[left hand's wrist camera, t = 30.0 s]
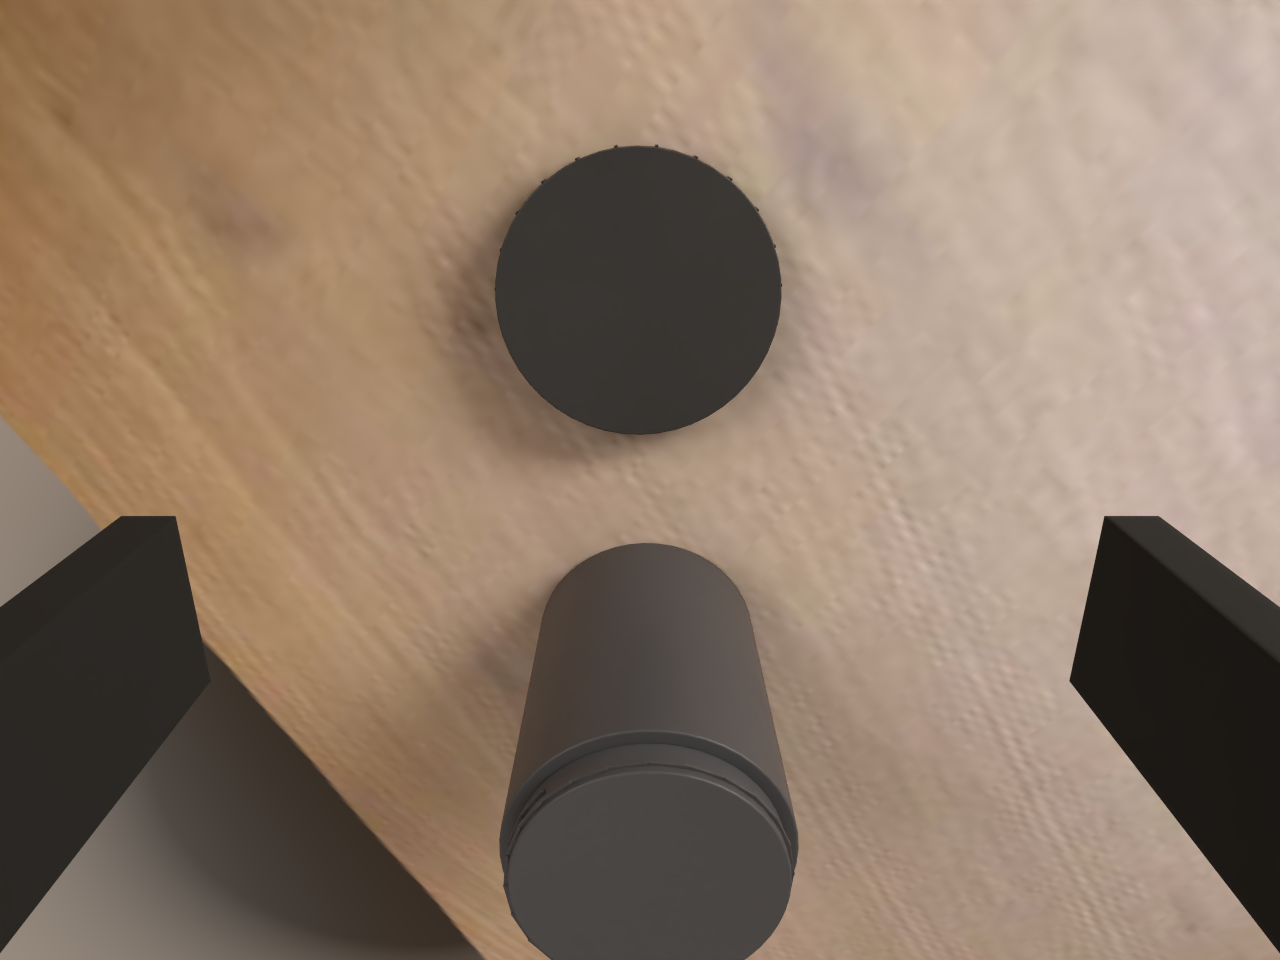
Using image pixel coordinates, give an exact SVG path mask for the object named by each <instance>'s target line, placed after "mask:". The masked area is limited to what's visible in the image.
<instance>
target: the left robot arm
mask: <svg viewBox="0 0 1280 960" xmlns="http://www.w3.org/2000/svg"><path fill="white" fill-rule="evenodd" d="M209 682H210V676H209V672H208V667H207V662H206V657H205V653H204V648H203V643H202V639H201V634H200V629H199V624H198V620H197V615H196V610H195V606H194V601H193V596H192V592H191V587H190V582H189V578H188V573H187V568H186V563H185V559H184V554H183V549H182V545H181V540H180V535H179V531H178V526H177V521H176V516H121V517H119V518H118V519H117V520H115V521H114V522H113V523H111V524H110V525H109V526H108V527H106V528H105V529H104V530H102V531H101V532H100V533H98V534H97V535H96V536H94V537H93V538H92V539H90V540H89V541H88V542H86V543H85V544H84V545H82V546H81V547H80V548H78V549H77V550H76V551H74V552H73V553H72V554H70V555H69V556H68V557H66V558H65V559H64V560H62V561H61V562H60V563H58V564H57V565H56V566H54V567H53V568H52V569H50V570H49V571H48V572H47V573H45V574H44V575H43V576H41V577H40V578H38V579H37V580H36V581H35V582H33V583H32V584H31V585H29V586H28V587H27V588H25V589H24V590H23V591H21V592H20V593H19V594H17V595H16V596H15V597H13V598H12V599H11V600H9V601H8V602H7V603H5V604H4V605H3V606H1V607H0V953H1V951H2V950H3V949H4V947H5V946H6V945H7V944H8V942H9V941H10V940H11V938H12V937H13V936H14V935H15V933H16V932H17V931H18V929H19V928H20V927H21V926H22V924H23V923H24V922H25V920H26V919H27V918H28V916H29V915H30V914H31V913H32V911H33V910H34V909H35V907H36V906H37V905H38V904H39V902H40V901H41V900H42V898H43V897H44V896H45V894H46V893H47V892H48V891H49V889H50V888H51V887H52V885H53V884H54V883H55V882H56V880H57V879H58V878H59V876H60V875H61V874H62V872H63V871H64V870H65V869H66V867H67V866H68V865H69V863H70V862H71V861H72V860H73V858H74V857H75V856H76V854H77V853H78V852H79V850H80V849H81V848H82V847H83V845H84V844H85V843H86V841H87V840H88V839H89V838H90V836H91V835H92V834H93V832H94V831H95V830H96V828H97V827H98V826H99V825H100V823H101V822H102V821H103V819H104V818H105V817H106V816H107V814H108V813H109V812H110V810H111V809H112V808H113V806H114V805H115V804H116V803H117V801H118V800H119V799H120V797H121V796H122V795H123V794H124V792H125V791H126V790H127V788H128V787H129V786H130V785H131V783H132V782H133V781H134V779H135V778H136V777H137V775H138V774H139V773H140V772H141V770H142V769H143V768H144V766H145V765H146V764H147V763H148V761H149V760H150V759H151V757H152V756H153V755H154V753H155V752H156V751H157V750H158V748H159V747H160V746H161V744H162V743H163V742H164V741H165V739H166V738H167V737H168V735H169V734H170V733H171V731H172V730H173V729H174V728H175V726H176V725H177V724H178V722H179V721H180V720H181V718H182V717H183V716H184V715H185V713H186V712H187V711H188V709H189V708H190V707H191V706H192V704H193V703H194V702H195V700H196V699H197V698H198V697H199V695H200V694H201V693H202V691H203V690H204V689H205V687H206V686H207V685H208V684H209ZM1070 682H1071V684H1072V685H1073V686H1074V687H1075V689H1076V690H1077V691H1078V693H1079V694H1080V695H1081V697H1082V698H1083V699H1084V700H1085V702H1086V703H1087V704H1088V706H1089V707H1090V708H1091V709H1092V711H1093V712H1094V713H1095V715H1096V716H1097V717H1098V719H1099V720H1100V721H1101V722H1102V724H1103V725H1104V726H1105V728H1106V729H1107V730H1108V731H1109V733H1110V734H1111V735H1112V737H1113V738H1114V739H1115V741H1116V742H1117V743H1118V744H1119V746H1120V747H1121V748H1122V750H1123V751H1124V752H1125V753H1126V755H1127V756H1128V757H1129V759H1130V760H1131V761H1132V763H1133V764H1134V765H1135V766H1136V768H1137V769H1138V770H1139V772H1140V773H1141V774H1142V775H1143V777H1144V778H1145V779H1146V781H1147V782H1148V783H1149V785H1150V786H1151V787H1152V788H1153V790H1154V791H1155V792H1156V794H1157V795H1158V796H1159V797H1160V799H1161V800H1162V801H1163V803H1164V804H1165V805H1166V806H1167V808H1168V809H1169V810H1170V812H1171V813H1172V814H1173V816H1174V817H1175V818H1176V819H1177V821H1178V822H1179V823H1180V825H1181V826H1182V827H1183V828H1184V830H1185V831H1186V832H1187V834H1188V835H1189V836H1190V838H1191V839H1192V840H1193V841H1194V843H1195V844H1196V845H1197V847H1198V848H1199V849H1200V850H1201V852H1202V853H1203V854H1204V856H1205V857H1206V858H1207V860H1208V861H1209V862H1210V863H1211V865H1212V866H1213V867H1214V869H1215V870H1216V871H1217V872H1218V874H1219V875H1220V876H1221V878H1222V879H1223V880H1224V882H1225V883H1226V884H1227V885H1228V887H1229V888H1230V889H1231V891H1232V892H1233V893H1234V894H1235V896H1236V897H1237V898H1238V900H1239V901H1240V902H1241V904H1242V905H1243V906H1244V907H1245V909H1246V910H1247V911H1248V913H1249V914H1250V915H1251V916H1252V918H1253V919H1254V920H1255V922H1256V923H1257V924H1258V926H1259V927H1260V928H1261V929H1262V931H1263V932H1264V933H1265V935H1266V936H1267V937H1268V938H1269V940H1270V941H1271V942H1272V944H1273V945H1274V946H1275V948H1276V949H1277V950H1278V951H1279V953H1280V607H1279V606H1277V605H1276V604H1275V603H1273V602H1272V601H1271V600H1269V599H1268V598H1267V597H1265V596H1264V595H1263V594H1261V593H1260V592H1259V591H1257V590H1256V589H1255V588H1253V587H1252V586H1251V585H1249V584H1248V583H1247V582H1246V581H1244V580H1243V579H1242V578H1240V577H1239V576H1238V575H1236V574H1235V573H1234V572H1232V571H1231V570H1230V569H1228V568H1227V567H1226V566H1224V565H1223V564H1222V563H1220V562H1219V561H1218V560H1216V559H1215V558H1214V557H1212V556H1211V555H1210V554H1208V553H1207V552H1206V551H1204V550H1203V549H1202V548H1200V547H1199V546H1198V545H1196V544H1195V543H1194V542H1192V541H1191V540H1190V539H1188V538H1187V537H1186V536H1184V535H1183V534H1182V533H1180V532H1179V531H1178V530H1176V529H1175V528H1174V527H1172V526H1171V525H1170V524H1169V523H1167V522H1166V521H1165V520H1163V519H1162V518H1161V517H1159V516H1104V521H1103V526H1102V531H1101V535H1100V540H1099V545H1098V549H1097V554H1096V559H1095V563H1094V568H1093V573H1092V578H1091V582H1090V587H1089V592H1088V596H1087V601H1086V606H1085V610H1084V615H1083V620H1082V624H1081V629H1080V634H1079V639H1078V643H1077V648H1076V653H1075V657H1074V662H1073V667H1072V671H1071V676H1070Z"/></svg>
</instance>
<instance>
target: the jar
mask: <svg viewBox="0 0 1280 960" xmlns="http://www.w3.org/2000/svg"><path fill="white" fill-rule="evenodd" d="M499 842H500V858H501V863H502V868H503V872H504V885H503V886H504V890H505V893H506V897H507V900H508V903H509V907H510V910H511V915H512V917H513V918H514V919H515V921H516V922H517V924H518V925H519V927H520V928H521V930H522V931H523V932H524V934H525V935H526V937H527V938H528V941H529V942H530V943H532V944H533V945H534V946H535V947H536V948H538V949H539V950H540V951H541V952H543V953H544V954H545V955H546V956H547V957H549V958H550V959H551V960H745V959H746V958H748V957H749V956H750V955H751V954H753V953H754V952H755V951H756V950H757V949H759V948H760V947H761V946H762V945H763V943H764V942H765V941H766V940H767V939H768V938H769V937H770V936H771V934H772V933H773V932H774V930H775V929H776V927H777V926H778V924H779V922H780V920H781V918H782V916H783V914H784V912H785V910H786V907H787V904H788V900H789V897H790V891H791V886H792V881H793V877H794V870H795V867H796V863H797V856H798V831H797V826H796V822H795V817H794V812H793V808H792V803H791V799H790V795H789V790H788V786H787V781H786V777H785V772H784V768H783V763H782V759H781V754H780V750H779V745H778V741H777V736H776V732H775V727H774V723H773V718H772V714H771V709H770V705H769V701H768V696H767V692H766V687H765V683H764V678H763V674H762V669H761V665H760V660H759V656H758V651H757V647H756V642H755V638H754V633H753V629H752V624H751V620H750V615H749V611H748V609H747V606H746V603H745V601H744V599H743V597H742V595H741V593H740V592H739V590H738V588H737V587H736V586H735V585H734V583H733V582H732V581H731V579H730V578H729V577H728V576H727V575H726V574H725V573H724V572H723V571H722V570H720V569H719V568H718V567H716V566H715V565H714V564H712V563H711V562H710V561H708V560H706V559H704V558H703V557H701V556H699V555H697V554H694V553H692V552H690V551H687V550H685V549H681V548H677V547H674V546H669V545H662V544H648V543H641V544H630V545H625V546H620V547H615V548H612V549H609V550H606V551H603V552H601V553H599V554H596V555H594V556H592V557H590V558H588V559H587V560H585V561H584V562H582V563H581V564H579V565H578V566H576V567H575V568H574V569H573V570H572V571H570V572H569V573H568V574H567V575H566V576H565V577H564V578H563V580H562V581H561V582H560V583H559V584H558V586H557V587H556V589H555V590H554V592H553V593H552V595H551V597H550V599H549V601H548V603H547V605H546V608H545V611H544V615H543V618H542V623H541V628H540V633H539V638H538V643H537V648H536V653H535V658H534V663H533V669H532V674H531V679H530V684H529V689H528V694H527V699H526V704H525V709H524V714H523V719H522V724H521V729H520V734H519V739H518V744H517V749H516V754H515V760H514V765H513V770H512V775H511V780H510V785H509V790H508V795H507V800H506V805H505V810H504V815H503V820H502V825H501V832H500V840H499Z"/></svg>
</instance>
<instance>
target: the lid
mask: <svg viewBox="0 0 1280 960" xmlns="http://www.w3.org/2000/svg"><path fill="white" fill-rule="evenodd" d="M732 180H733V179H731V178H730V177H725V176H724V175H723V174H721V173H720V172H718V171H717V170H716V169H714V168H713V167H711V166H709V165H707V164H705V163H704V162H702V161H700V160H698V157H697V156H695V155H694V156H693V157H692V156H689V155H686V154H683V153H680V152H678V151H675V150H670V149H665V148H660V147H658V145H656V144H655V147H652V146H626V147H618V145H615V146H614V148H612V149H607V150H603V151H599V152H596V153H593V154H591V155H588V156H585V157H583V158H581V159H580V157H577V158H576V159H575V162H573V163H571V164H570V165H568V166H566V167H564V168H562V169H561V170H559V171H558V172H557V173H555V174H554V175H553V176H551V177H550V178H549V179H547V180H546V179H545V180H543V181H542V182H541V183H542V185H541V186H540V187H539V188H538V189H537V190H536V191H535V192H534V193H533V194H532V195H531V196H530V197H529V198H528V200H527V201H526V202H525V204H524V205H523V206H522V207H521V209H520V210H519V211H517V212H516V217H515V219H514V221H513V222H512V224H511V226H510V228H509V230H508V233H507V235H506V238H505V240H504V242H503V245H502V248H501V249H500V252H501V253H500V256H499V260H498V266H497V273H496V281H495V291H496V307H497V315H498V321H499V324H500V329H501V332H502V336H503V338H504V341H505V343H506V346H507V348H508V351H509V353H510V355H511V357H512V359H513V360H514V362H515V364H516V366H517V367H518V369H519V371H520V372H521V373H522V375H523V376H524V377H525V379H526V380H527V381H528V383H529V384H530V385H531V386H532V387H533V388H534V389H535V390H536V391H537V392H538V393H539V394H540V395H541V396H542V397H543V398H544V399H545V400H546V401H548V402H549V403H550V404H551V405H553V406H554V407H555V408H556V409H558V410H560V411H561V412H563V413H565V414H566V415H568V416H569V417H571V418H573V419H575V420H577V421H580V422H582V423H584V424H586V425H589V426H592V427H595V428H598V429H602V430H605V431H611V432H616V433H622V434H639V435H640V434H654V433H661V432H666V431H671V430H676V429H679V428H682V427H685V426H688V425H691V424H693V423H695V422H697V421H699V420H701V419H704V418H706V417H708V416H709V415H711V414H712V413H714V412H716V411H717V410H719V409H720V408H722V407H723V406H724V405H726V404H727V403H728V402H729V401H730V400H732V399H733V398H734V397H735V396H736V395H737V394H738V393H739V392H740V391H741V390H742V389H743V388H744V387H745V386H746V385H747V384H748V383H749V381H750V380H751V378H752V377H753V376H754V374H755V373H756V372H757V370H758V369H759V367H760V365H761V364H762V362H763V360H764V358H765V356H766V354H767V353H768V350H769V348H770V345H771V343H772V340H773V338H774V335H775V331H776V327H777V324H778V319H779V314H780V305H781V287H782V284H781V275H780V268H779V262H778V257H777V254H776V250H775V248H776V246H775V244H774V243H773V241H772V238H771V236H770V234H769V231H768V229H767V227H766V224H765V223H764V221H763V219H762V218H761V216H760V214H759V213H758V211H759V209H758V208H756V207H755V206H754V205H753V204H752V203H751V202H750V200H749V199H748V198H747V197H746V195H745V194H744V193H743V192H742V191H741V190H740V189H739V188H738V187H737V186H736V185H735V184H734V183H733V182H732Z"/></svg>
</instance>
